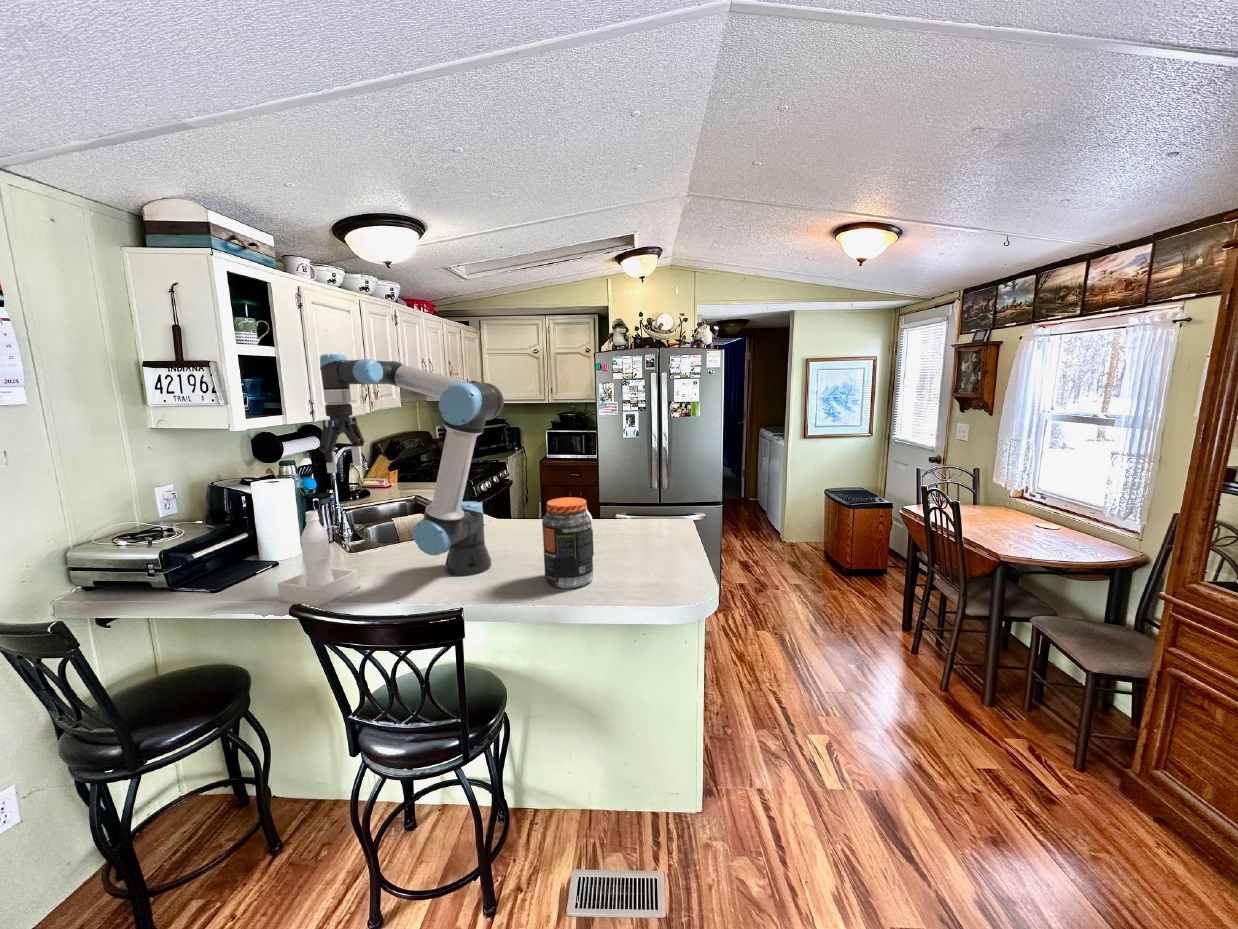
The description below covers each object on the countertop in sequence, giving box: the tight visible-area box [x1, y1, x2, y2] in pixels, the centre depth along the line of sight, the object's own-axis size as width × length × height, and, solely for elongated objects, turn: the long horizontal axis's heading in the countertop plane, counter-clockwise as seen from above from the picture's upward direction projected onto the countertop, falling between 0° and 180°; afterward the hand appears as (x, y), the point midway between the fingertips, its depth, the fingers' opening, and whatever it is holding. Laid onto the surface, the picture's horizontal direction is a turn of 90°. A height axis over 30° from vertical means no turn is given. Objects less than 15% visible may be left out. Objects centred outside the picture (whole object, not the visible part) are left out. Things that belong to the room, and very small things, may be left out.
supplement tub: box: [541, 496, 595, 589], centre depth 158 cm, size 16×16×26 cm
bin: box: [277, 566, 361, 609], centre depth 151 cm, size 15×15×6 cm
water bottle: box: [300, 510, 334, 588], centre depth 150 cm, size 7×7×25 cm
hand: (345, 469), depth 163 cm, fingers open, 13 cm apart
